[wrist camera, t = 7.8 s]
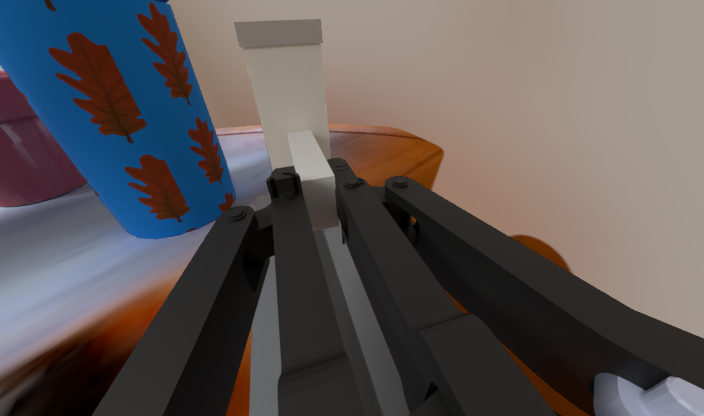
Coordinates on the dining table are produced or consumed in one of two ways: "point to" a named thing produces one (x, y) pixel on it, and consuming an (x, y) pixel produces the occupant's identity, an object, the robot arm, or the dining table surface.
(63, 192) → the plant pot
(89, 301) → the dining table surface
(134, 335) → the dining table surface
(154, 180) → the thermos
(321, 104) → the fader tab
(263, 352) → the console
